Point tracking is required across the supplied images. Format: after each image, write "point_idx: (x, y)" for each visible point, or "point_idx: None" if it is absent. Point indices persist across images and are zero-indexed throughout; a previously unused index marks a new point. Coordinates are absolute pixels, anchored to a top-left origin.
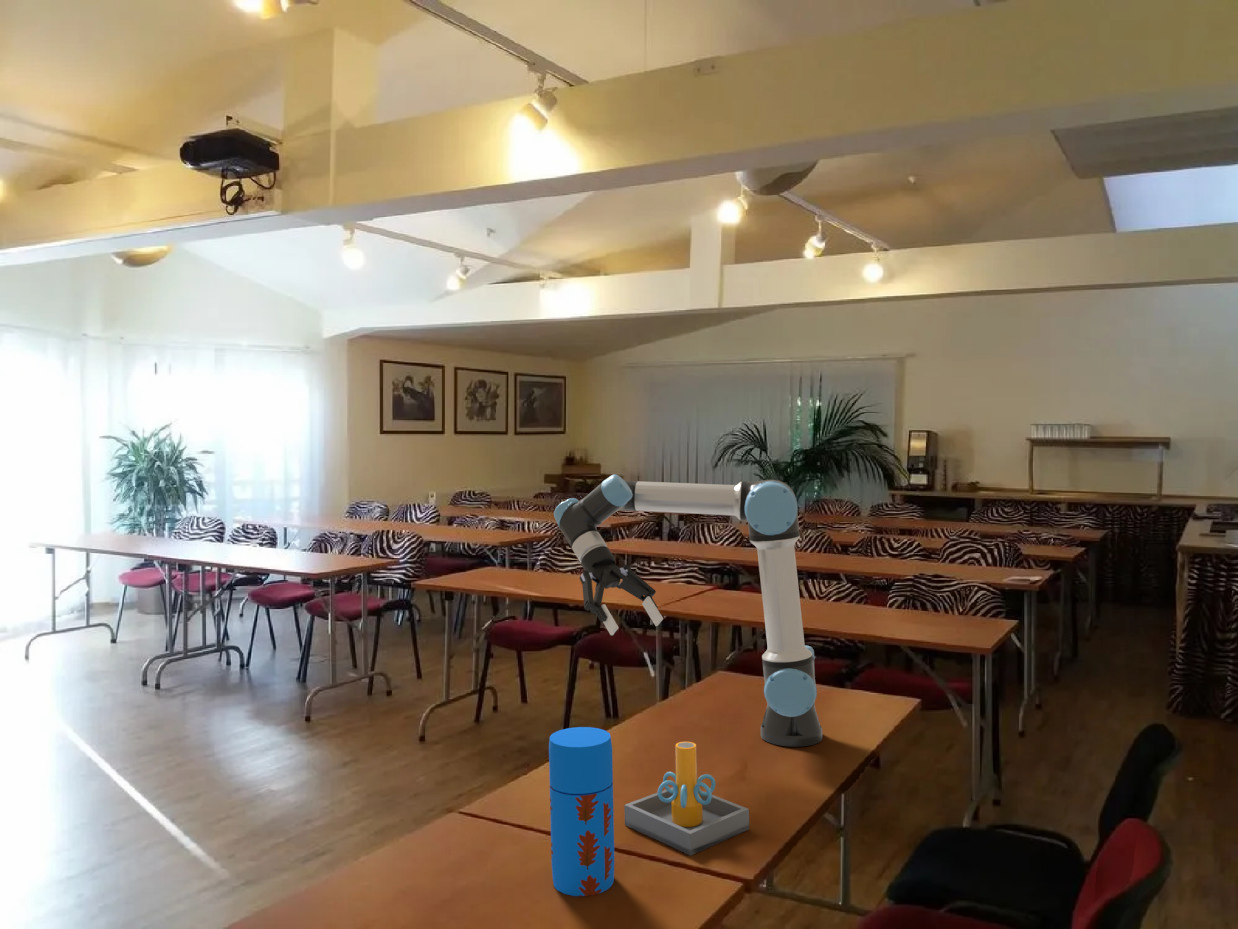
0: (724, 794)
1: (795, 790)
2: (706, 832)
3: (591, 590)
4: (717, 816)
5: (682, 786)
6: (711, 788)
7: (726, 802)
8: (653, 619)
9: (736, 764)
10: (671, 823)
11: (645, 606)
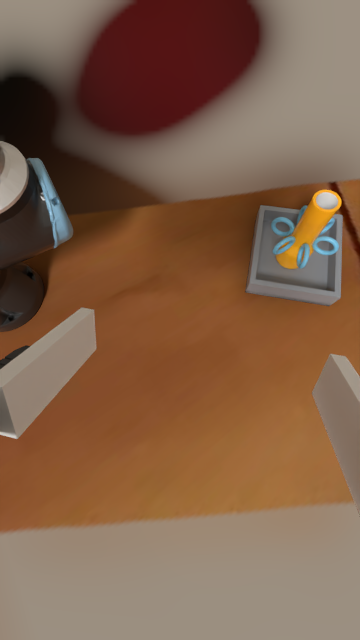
0: (201, 271)
1: (154, 228)
2: None
3: None
4: (261, 242)
5: (331, 219)
6: (275, 226)
7: (261, 225)
8: (83, 354)
9: (120, 303)
10: (338, 237)
11: (36, 404)
